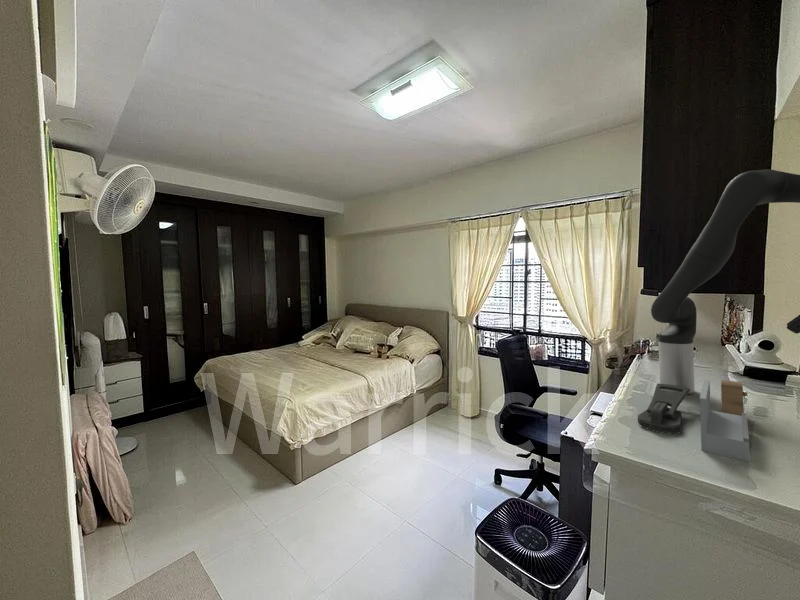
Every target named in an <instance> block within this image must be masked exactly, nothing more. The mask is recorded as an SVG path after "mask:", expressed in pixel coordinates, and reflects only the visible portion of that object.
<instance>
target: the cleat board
mask: <svg viewBox="0 0 800 600" xmlns="http://www.w3.org/2000/svg"><path fill="white" fill-rule="evenodd" d="M710 382H711V381H710V380H706V379H705V380H703V384H702V388H701V392H700V395H699V409H700V410H699V415H700V416H699V418H700V438H701V439H700V442H701V443H700V445H701V451H704V452H708V453H712V454H717V455H720V456H721V455H722V456H725V457H730V458H734V459H738V460H742V461H747V462H750V460H751V459H750V456H751V455H750V435H749V426H748V417H747V413H746V412H743V413H742V416H740V415H734V414H728V413H722V411H721V412H720V411H715V410H711V385H710Z"/></svg>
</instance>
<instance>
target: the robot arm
mask: <svg viewBox="0 0 800 600" xmlns="http://www.w3.org/2000/svg"><path fill="white" fill-rule="evenodd" d="M772 203H773V204H774V203H776V204H777V203H796V204H797V203H798V204H800V174H796V173H791V172H785V171H780V170H775V169H770V168H769V169H768V168H767V169H766V168H765V169H759V170H758V169H757V170H749V171H744V172H741V173H740V174H737V176H735V177H734V178H733V179H731V180H730V181H729V182H728V183H727V185H726V187H725V189H724V191H723V192H722V194H721V196H720V198H719V200H718V202H717V205H716V207H715V209H714V211H713V213H712V215H711V216H710V219H709V220H708V222H707V223H706V225H705V226H704V227H703V229H702V231H701V232H700V234H699V236H698V237H697V238H696V241H695V242H694V243H693V245H692V246H691V248H690V250H689V251H688V253H687V254H686V255H685V258H684V260H682V262H681V265H680V266H679V267H678V269H677V271H676V272H675V273H674V274H673V276H672V278H671V279H670V280H669V282H668V283H667V285H666V286H665V287H664V289H663V290H662V291H661V292H660V294H658V296H656V297H655V300H654V301H653V303H652V305H651V308H650V313H651V317H652V319H653V320H655V322H658V323H660V324H668V327H666V329H664V330H663V331H660V332H659V333H658V337H657V340H658V361H659V362H658V365H659V384H670V385H677V386H682V387H687V388H689V389H690V391H689V393H688V394H687V395H692V394H695V391H696V390H695V388H696V387H695V359H694V355H695V353H694V339H695V336H696V333H697V314H698V313H697V307H696V304H695V302H694V300H693V299H692V298H690V297H688V296H689V295H690V294H691V293H692V292H693V291H695V290H696V289H698V288H699V287H700V286H702V285H704V284H705V283H706V282H708V281H709V280H711V279H712V278H713V277H715V276H716V275H717V274H718V273H719V272H720V271H721V270H722V268H724V266H725V265H726V263H727V262H728V261H729V259H730V258H731V257H732V255H733V253H734V251H735V248H736V244H737V243H736V242H737V237H738V233H739V230H740V228H741V225H743V222H744V221H745V220H746V219H747V217H748V216H749V214H751V212H752V211H753V210H754V209H755V208H756V207H757V206H761V205H766V204H772ZM786 329H787V330H788V331H790V332H792V333H794V334H796V335H798V334H800V314H799V315H797V316H796V317H794V318H793V319H791V320H790V321H788V322H787V323H786ZM661 390H667V391H673V392H680V391H674V390H668V389H661ZM680 393H681V392H680Z"/></svg>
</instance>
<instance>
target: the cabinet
mask: <svg viewBox="0 0 800 600" xmlns="http://www.w3.org/2000/svg"><path fill="white" fill-rule="evenodd" d="M720 382H721V383H720V388H721V389H720V391H721V392H720V393H721V395H720V396H721V412H722V413H728V414H734V415H740V416H742V413H744V397H748V392H746V391H744V389H743V388H744V386H743V385H744V384H743V382H742V381H735V380H733V381H732V380H724V379H721V381H720Z"/></svg>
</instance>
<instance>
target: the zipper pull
mask: <svg viewBox="0 0 800 600" xmlns="http://www.w3.org/2000/svg"><path fill="white" fill-rule="evenodd" d="M661 389H668V390H674V391H680V392H681V393H680V392H673V391H667V390H661ZM689 391H690V389H689V388H687V387H682V386H677V385H670V384H660V383H657V384H656V386H655V389H654V393H653V395H652V399H651V401H650V402H649V405H648V408H647V409H645V410H644V411H643V412H641V413H639V414H637V423H639V424H640V425H641V426H643V427H645V428H644V429H646V428H648V429H647V430H649V429H650V430H649V431H652V430H654V431H653V432H656V431H658V432H657V433H660V432H663V433H662V434H667V433H671V434H670V435H676V434H675V433H677V434H680V433H681V430H682V421H683V419H682V414H683V413H682V411H681V410H677V409H678V407H679V406H680V405H681V404H682V402H683V400H684V399H685V398H686V397H687V396H688V395H689V394H688V393H689ZM639 424H638V425H639ZM640 425H639V426H640ZM643 427H642V428H643ZM679 432H680V433H679Z"/></svg>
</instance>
